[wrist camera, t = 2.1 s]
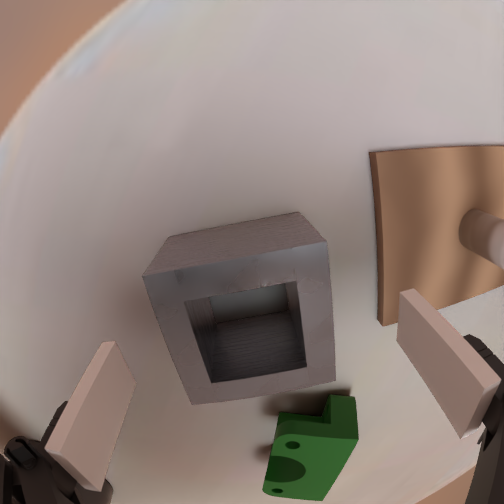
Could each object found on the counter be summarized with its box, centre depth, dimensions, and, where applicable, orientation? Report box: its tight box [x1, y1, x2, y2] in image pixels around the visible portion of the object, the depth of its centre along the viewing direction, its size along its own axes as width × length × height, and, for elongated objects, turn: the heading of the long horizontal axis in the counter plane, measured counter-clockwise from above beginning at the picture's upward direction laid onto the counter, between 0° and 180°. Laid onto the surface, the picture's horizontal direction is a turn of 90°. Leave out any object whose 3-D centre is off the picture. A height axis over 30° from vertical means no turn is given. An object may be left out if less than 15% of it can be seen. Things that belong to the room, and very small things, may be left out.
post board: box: [369, 146, 504, 326], centre depth 15 cm, size 16×12×8 cm
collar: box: [142, 212, 336, 405], centre depth 17 cm, size 8×8×6 cm
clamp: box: [262, 395, 359, 501], centre depth 23 cm, size 12×6×9 cm, turn 170°
